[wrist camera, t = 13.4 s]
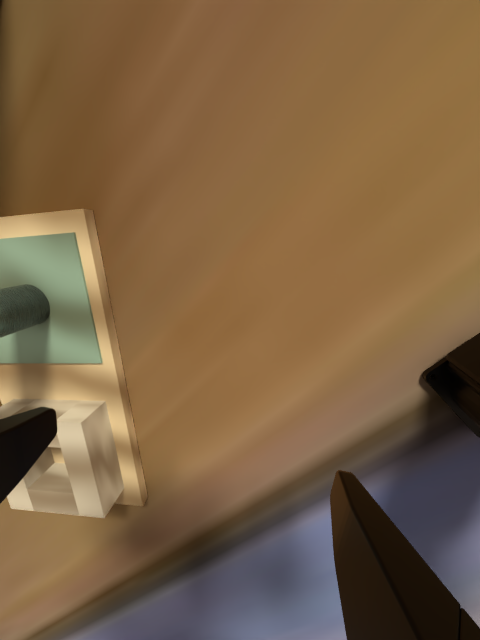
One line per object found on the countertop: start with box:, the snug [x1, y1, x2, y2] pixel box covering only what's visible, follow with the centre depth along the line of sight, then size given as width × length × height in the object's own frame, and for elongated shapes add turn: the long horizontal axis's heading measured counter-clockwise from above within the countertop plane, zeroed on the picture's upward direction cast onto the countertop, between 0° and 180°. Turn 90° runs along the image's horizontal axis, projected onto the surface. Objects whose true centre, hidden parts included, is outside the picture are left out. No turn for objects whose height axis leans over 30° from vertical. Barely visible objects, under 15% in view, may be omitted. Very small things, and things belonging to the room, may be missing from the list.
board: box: [0, 209, 148, 518], centre depth 23 cm, size 26×12×4 cm, turn 4°
